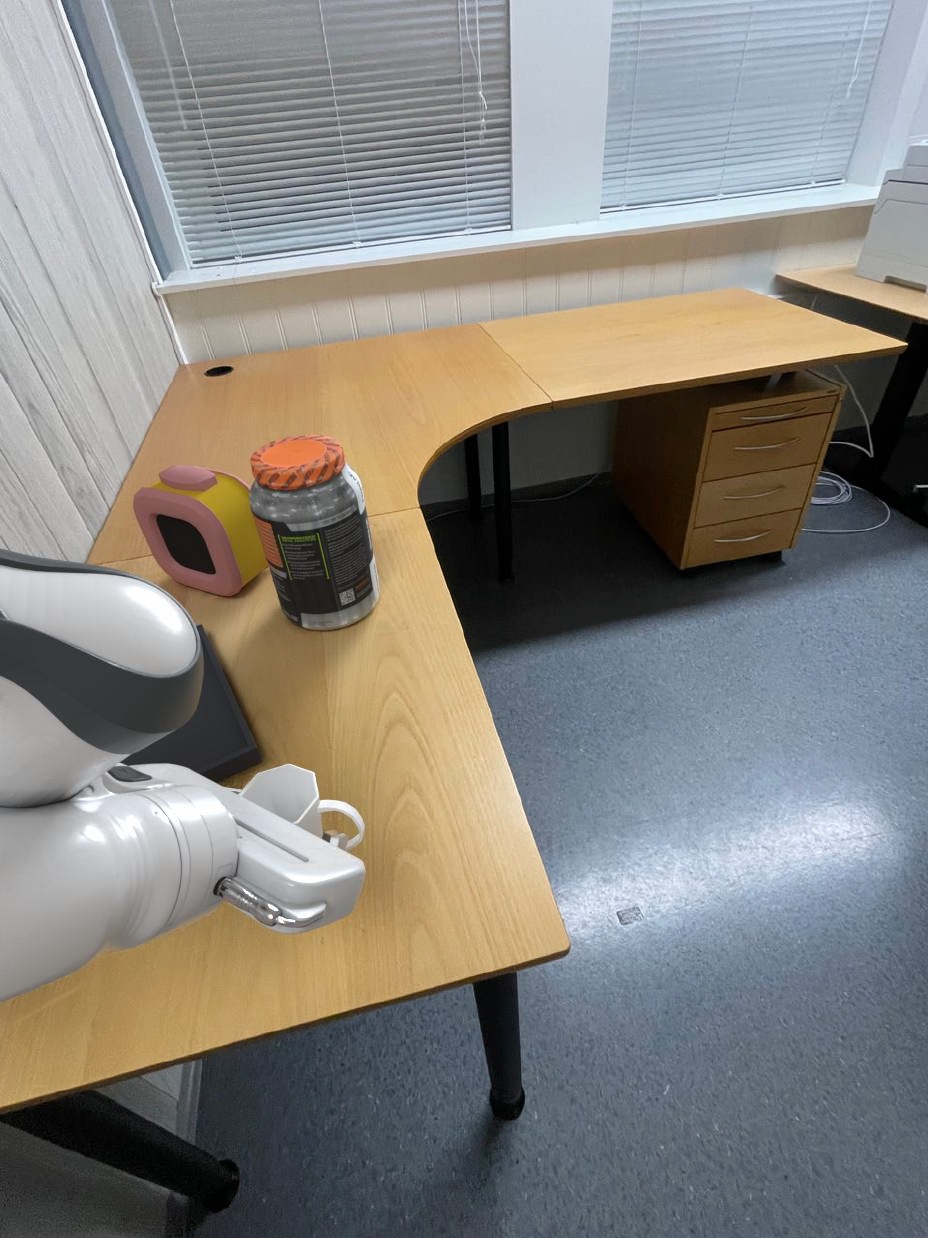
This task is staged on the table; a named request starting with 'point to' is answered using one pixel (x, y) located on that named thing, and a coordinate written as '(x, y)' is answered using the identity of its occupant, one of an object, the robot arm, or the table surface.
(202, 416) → the table surface
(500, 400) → the table surface
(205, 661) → the tray
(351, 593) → the supplement tub
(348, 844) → the cup
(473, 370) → the table surface
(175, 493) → the alarm clock
